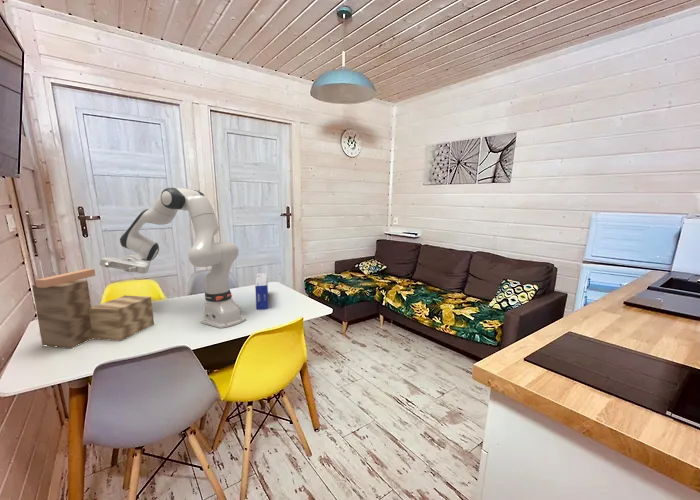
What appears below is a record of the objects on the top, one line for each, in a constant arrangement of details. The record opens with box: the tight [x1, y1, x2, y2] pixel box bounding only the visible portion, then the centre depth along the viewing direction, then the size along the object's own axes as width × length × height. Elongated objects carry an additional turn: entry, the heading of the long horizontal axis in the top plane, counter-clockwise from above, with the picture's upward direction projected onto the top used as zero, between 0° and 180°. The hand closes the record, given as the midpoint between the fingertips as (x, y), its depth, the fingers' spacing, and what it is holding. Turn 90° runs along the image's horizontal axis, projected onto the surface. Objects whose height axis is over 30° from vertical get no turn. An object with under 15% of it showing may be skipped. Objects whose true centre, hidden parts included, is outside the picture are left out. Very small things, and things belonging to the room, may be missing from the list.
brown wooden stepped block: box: [31, 279, 155, 349], centre depth 133 cm, size 27×28×26 cm
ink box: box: [254, 272, 269, 311], centre depth 181 cm, size 30×7×14 cm, turn 15°
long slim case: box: [35, 268, 96, 288], centre depth 127 cm, size 20×4×3 cm, turn 172°
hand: (117, 267), depth 144 cm, fingers open, 8 cm apart
